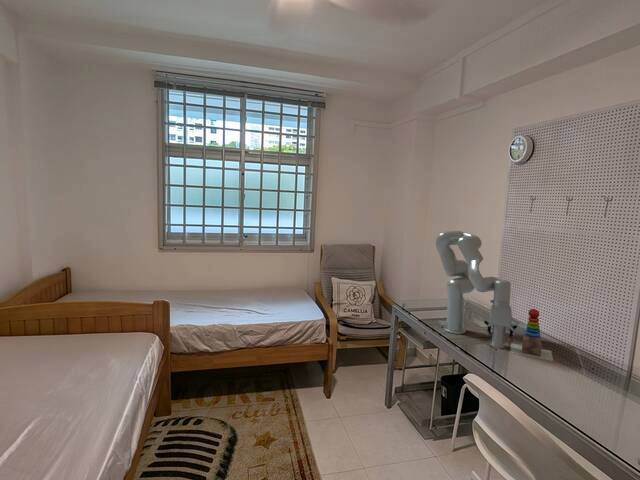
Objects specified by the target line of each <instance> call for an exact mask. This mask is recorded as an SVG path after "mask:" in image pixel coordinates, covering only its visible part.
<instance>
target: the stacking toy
mask: <svg viewBox="0 0 640 480" xmlns="http://www.w3.org/2000/svg"><path fill="white" fill-rule="evenodd" d="M528 315H529V317H528V318H527V323H526V328H525V329H526V330H525V334H524V336H525V337H531V338H536V339H541V338H542V337H541V330H540V327H541V326H540V322H539V321H540V318H539V317H540V311H539V310H538V309H535V308H530V309H529V310H528ZM541 340H542V339H541Z"/></svg>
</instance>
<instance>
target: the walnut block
mask: <svg viewBox="0 0 640 480" xmlns="http://www.w3.org/2000/svg"><path fill="white" fill-rule="evenodd" d="M521 343H522V344H521V345H522V353H526V354H530V355H535V356H540V357H541V349H543V348H542V347H543V346H542V345H543V343H542V339H536V338H531V337H525V335H523V336H522V342H521Z"/></svg>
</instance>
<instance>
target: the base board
mask: <svg viewBox="0 0 640 480" xmlns="http://www.w3.org/2000/svg"><path fill="white" fill-rule="evenodd" d="M510 353H511V354H517V355H521V356H525V357H531V358H536V359H540V360H546V361H551V362H554V358H553V352H552V350H548V349H543V348H541V357H540V356H535V355H530V354H526V353H522V344H518V343H513V342H511V344H510Z"/></svg>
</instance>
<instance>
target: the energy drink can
mask: <svg viewBox="0 0 640 480" xmlns="http://www.w3.org/2000/svg"><path fill="white" fill-rule="evenodd" d="M506 332H507V327H505V326H500V325H493V324H492V331H491V334H492V335H491V346H492V347H494V348H497V349H504V348H505V343H506Z"/></svg>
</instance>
